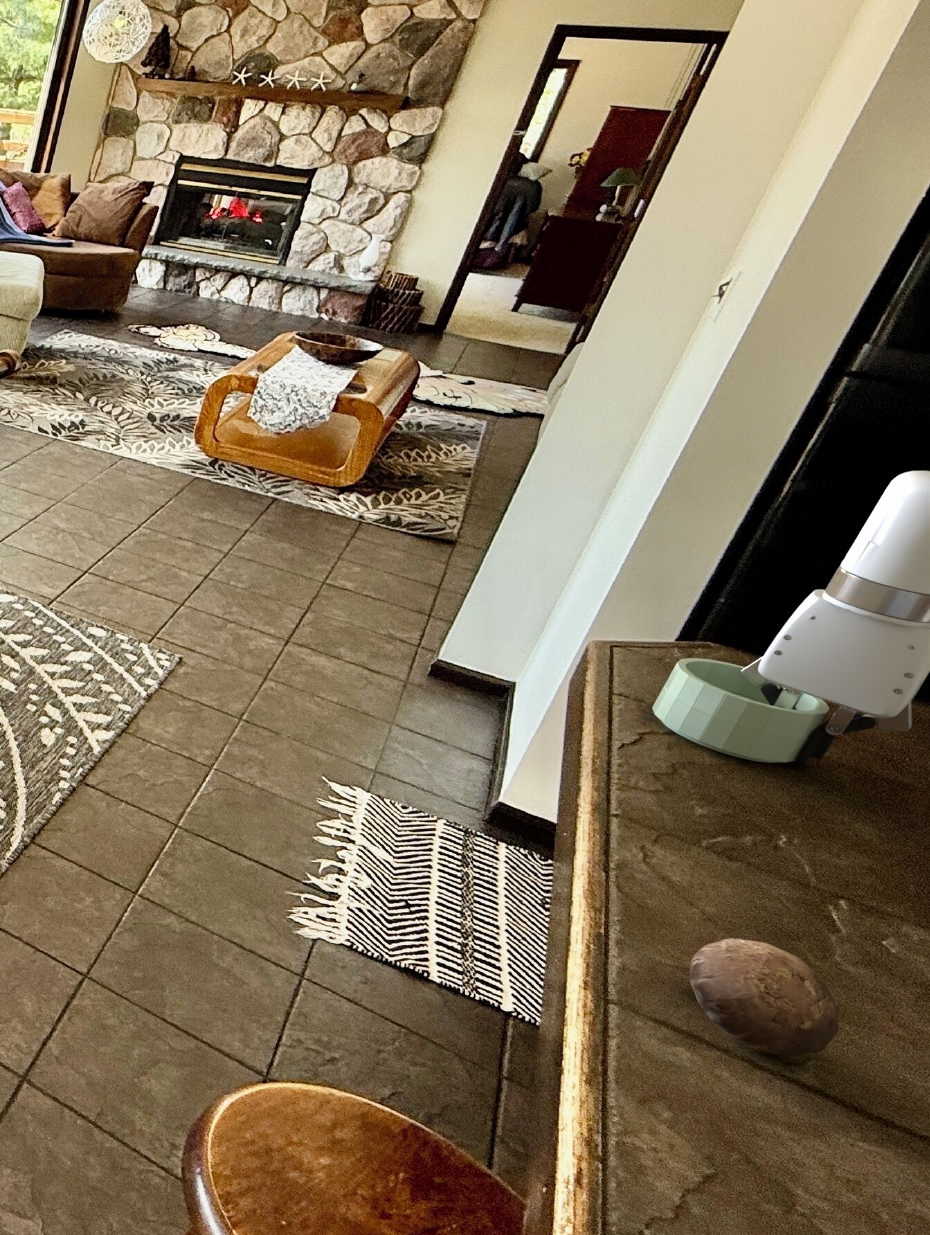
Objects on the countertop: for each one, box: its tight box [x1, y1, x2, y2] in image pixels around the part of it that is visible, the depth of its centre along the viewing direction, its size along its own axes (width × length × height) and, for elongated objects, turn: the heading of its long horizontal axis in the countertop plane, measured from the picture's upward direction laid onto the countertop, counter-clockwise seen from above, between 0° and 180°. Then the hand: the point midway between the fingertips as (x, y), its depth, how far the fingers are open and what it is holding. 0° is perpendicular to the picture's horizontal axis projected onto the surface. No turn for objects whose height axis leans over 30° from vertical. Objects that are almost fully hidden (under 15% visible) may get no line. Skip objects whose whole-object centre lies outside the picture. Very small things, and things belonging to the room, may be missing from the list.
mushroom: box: [689, 937, 839, 1057], centre depth 73 cm, size 8×8×6 cm
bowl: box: [651, 657, 831, 764], centre depth 111 cm, size 11×11×6 cm
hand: (787, 752), depth 108 cm, fingers closed on bowl
